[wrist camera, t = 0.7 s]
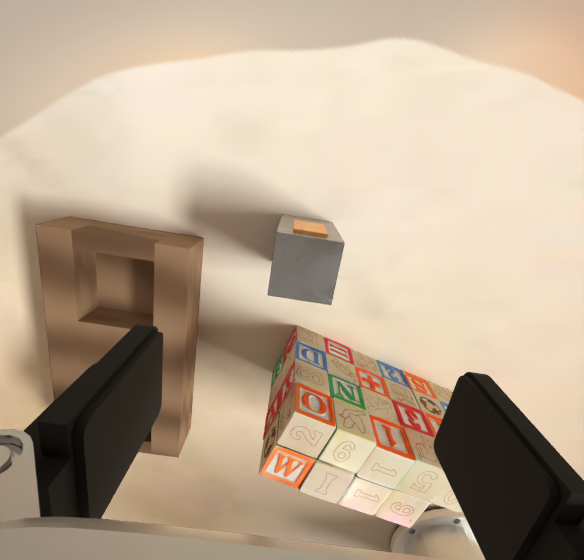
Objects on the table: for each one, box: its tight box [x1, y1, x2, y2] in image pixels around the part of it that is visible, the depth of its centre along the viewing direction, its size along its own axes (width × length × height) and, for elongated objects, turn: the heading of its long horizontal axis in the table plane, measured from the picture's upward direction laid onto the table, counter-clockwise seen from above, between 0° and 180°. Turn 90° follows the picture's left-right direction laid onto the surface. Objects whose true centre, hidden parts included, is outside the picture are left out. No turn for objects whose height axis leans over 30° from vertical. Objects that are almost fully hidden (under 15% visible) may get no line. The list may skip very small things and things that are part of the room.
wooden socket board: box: [36, 217, 204, 457], centre depth 31 cm, size 22×12×4 cm, turn 171°
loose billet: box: [268, 214, 344, 305], centre depth 26 cm, size 5×4×8 cm
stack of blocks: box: [259, 326, 464, 528], centre depth 29 cm, size 21×6×12 cm, turn 65°
